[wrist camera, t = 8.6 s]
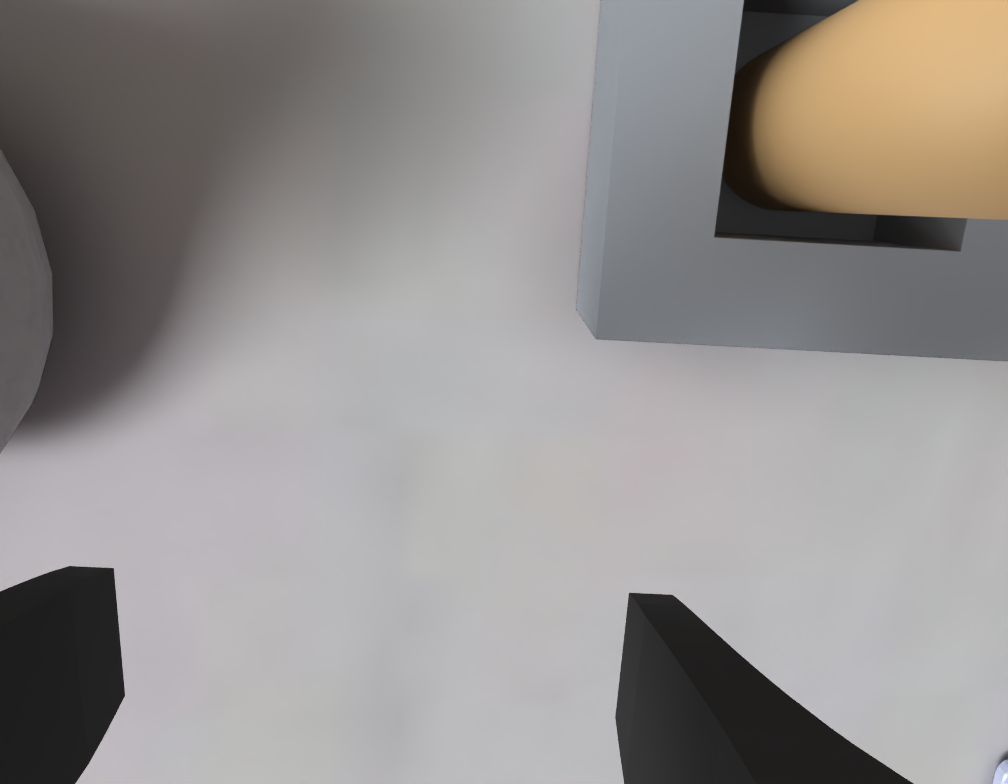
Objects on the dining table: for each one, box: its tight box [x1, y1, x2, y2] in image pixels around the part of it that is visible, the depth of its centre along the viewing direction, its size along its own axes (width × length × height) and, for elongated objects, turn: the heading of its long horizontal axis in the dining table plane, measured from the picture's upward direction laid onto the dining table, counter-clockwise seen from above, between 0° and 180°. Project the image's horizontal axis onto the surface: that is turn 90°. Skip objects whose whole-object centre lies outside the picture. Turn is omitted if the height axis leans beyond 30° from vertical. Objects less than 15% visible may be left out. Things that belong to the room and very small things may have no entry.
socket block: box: [576, 0, 1008, 361], centre depth 16 cm, size 9×9×4 cm
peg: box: [722, 0, 1008, 220], centre depth 12 cm, size 4×4×10 cm
